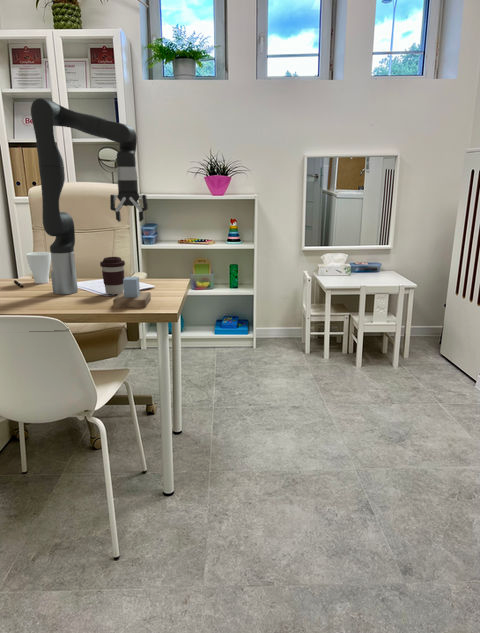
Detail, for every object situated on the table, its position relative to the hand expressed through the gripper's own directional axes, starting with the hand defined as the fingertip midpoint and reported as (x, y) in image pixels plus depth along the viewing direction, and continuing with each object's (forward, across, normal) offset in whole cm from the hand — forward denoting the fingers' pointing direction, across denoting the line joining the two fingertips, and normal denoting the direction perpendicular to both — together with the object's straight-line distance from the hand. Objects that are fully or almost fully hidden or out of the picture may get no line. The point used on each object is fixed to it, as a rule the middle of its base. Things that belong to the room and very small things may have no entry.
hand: (130, 221), depth 191 cm
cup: (+30, -48, +25) cm, 62 cm away
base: (+30, +2, -14) cm, 33 cm away
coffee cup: (+30, -9, +3) cm, 32 cm away
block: (+27, +2, -14) cm, 31 cm away
